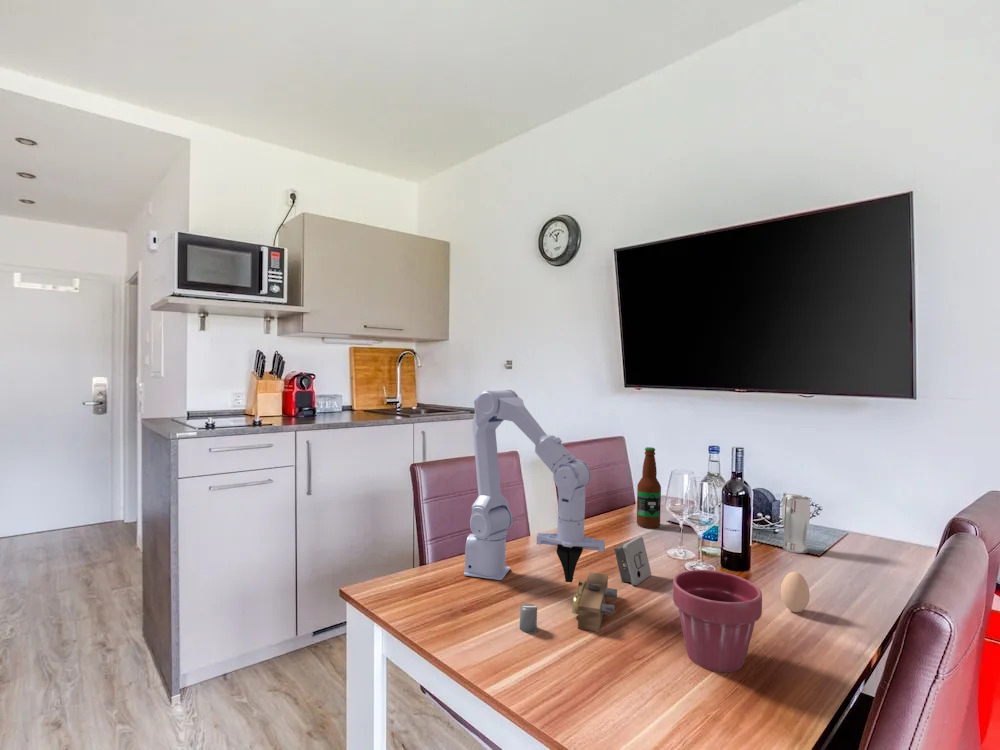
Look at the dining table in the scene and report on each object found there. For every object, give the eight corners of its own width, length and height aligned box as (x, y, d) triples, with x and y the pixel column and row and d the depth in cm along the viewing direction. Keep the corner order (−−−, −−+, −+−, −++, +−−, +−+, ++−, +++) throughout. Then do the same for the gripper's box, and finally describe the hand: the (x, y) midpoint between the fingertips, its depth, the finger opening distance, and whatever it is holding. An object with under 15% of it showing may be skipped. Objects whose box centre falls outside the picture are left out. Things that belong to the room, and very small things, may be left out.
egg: (815, 616, 109) (816, 576, 109) (792, 618, 108) (793, 577, 108) (796, 605, 114) (797, 566, 114) (774, 606, 113) (775, 567, 113)
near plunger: (572, 616, 105) (572, 599, 105) (574, 609, 108) (574, 592, 108) (613, 622, 103) (613, 605, 103) (614, 615, 106) (615, 598, 106)
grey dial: (520, 632, 100) (521, 610, 99) (518, 624, 103) (519, 602, 103) (537, 632, 100) (538, 610, 100) (535, 624, 103) (535, 602, 103)
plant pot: (714, 690, 83) (716, 608, 83) (654, 646, 96) (656, 575, 95) (779, 671, 88) (781, 594, 88) (714, 632, 101) (716, 565, 101)
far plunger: (577, 599, 113) (578, 583, 113) (579, 593, 116) (580, 578, 116) (616, 605, 111) (616, 589, 111) (617, 598, 114) (617, 582, 114)
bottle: (637, 528, 168) (639, 449, 168) (635, 521, 175) (637, 445, 175) (661, 529, 167) (663, 450, 167) (658, 523, 174) (660, 446, 174)
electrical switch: (635, 587, 122) (632, 546, 122) (614, 583, 125) (612, 543, 125) (652, 576, 129) (649, 537, 130) (632, 572, 132) (629, 534, 133)
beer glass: (809, 548, 151) (811, 496, 151) (808, 555, 146) (809, 501, 145) (782, 544, 155) (783, 492, 155) (779, 550, 149) (781, 497, 149)
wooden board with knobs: (577, 628, 102) (578, 600, 102) (589, 591, 119) (589, 567, 119) (599, 631, 100) (599, 603, 100) (607, 593, 118) (607, 569, 118)
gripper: (534, 519, 113) (532, 582, 113) (603, 526, 109) (601, 592, 109) (540, 510, 120) (539, 570, 120) (606, 517, 116) (604, 579, 116)
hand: (569, 580), depth 115 cm, fingers closed
